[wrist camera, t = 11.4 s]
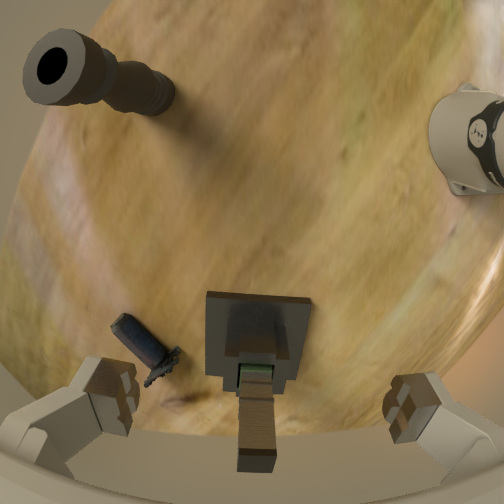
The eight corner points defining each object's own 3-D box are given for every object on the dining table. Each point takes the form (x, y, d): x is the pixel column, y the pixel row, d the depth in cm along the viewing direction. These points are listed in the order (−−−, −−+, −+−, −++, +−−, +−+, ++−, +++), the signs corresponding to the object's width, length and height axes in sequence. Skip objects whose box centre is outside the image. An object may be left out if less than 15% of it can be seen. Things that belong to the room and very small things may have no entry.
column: (271, 357, 45) (278, 455, 29) (268, 378, 46) (273, 473, 30) (241, 356, 44) (237, 454, 29) (239, 377, 46) (235, 472, 30)
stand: (309, 297, 50) (321, 334, 41) (294, 372, 56) (300, 412, 47) (207, 290, 50) (198, 327, 40) (206, 367, 55) (200, 407, 46)
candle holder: (170, 117, 40) (79, 109, 17) (129, 113, 40) (14, 109, 16) (178, 75, 38) (98, 21, 15) (137, 72, 38) (30, 30, 14)
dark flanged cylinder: (184, 344, 55) (134, 298, 53) (180, 366, 48) (123, 315, 45) (152, 372, 56) (104, 329, 53) (145, 395, 48) (91, 349, 46)
